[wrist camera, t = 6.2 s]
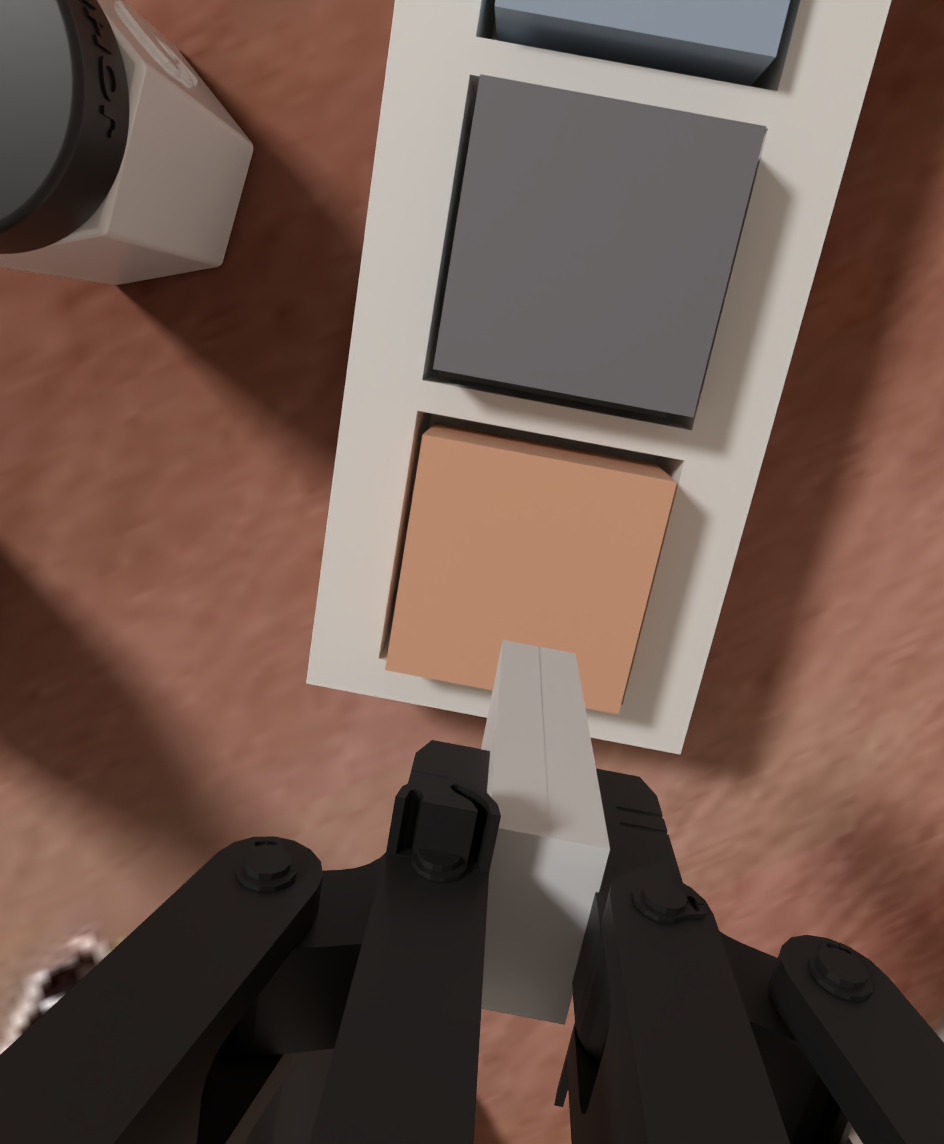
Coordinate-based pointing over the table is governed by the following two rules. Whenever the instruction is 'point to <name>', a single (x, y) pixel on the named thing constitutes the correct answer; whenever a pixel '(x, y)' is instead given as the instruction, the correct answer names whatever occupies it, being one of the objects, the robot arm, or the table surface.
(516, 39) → the slate key
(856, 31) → the board
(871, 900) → the table surface
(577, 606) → the terracotta key
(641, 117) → the charcoal key
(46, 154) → the jar
